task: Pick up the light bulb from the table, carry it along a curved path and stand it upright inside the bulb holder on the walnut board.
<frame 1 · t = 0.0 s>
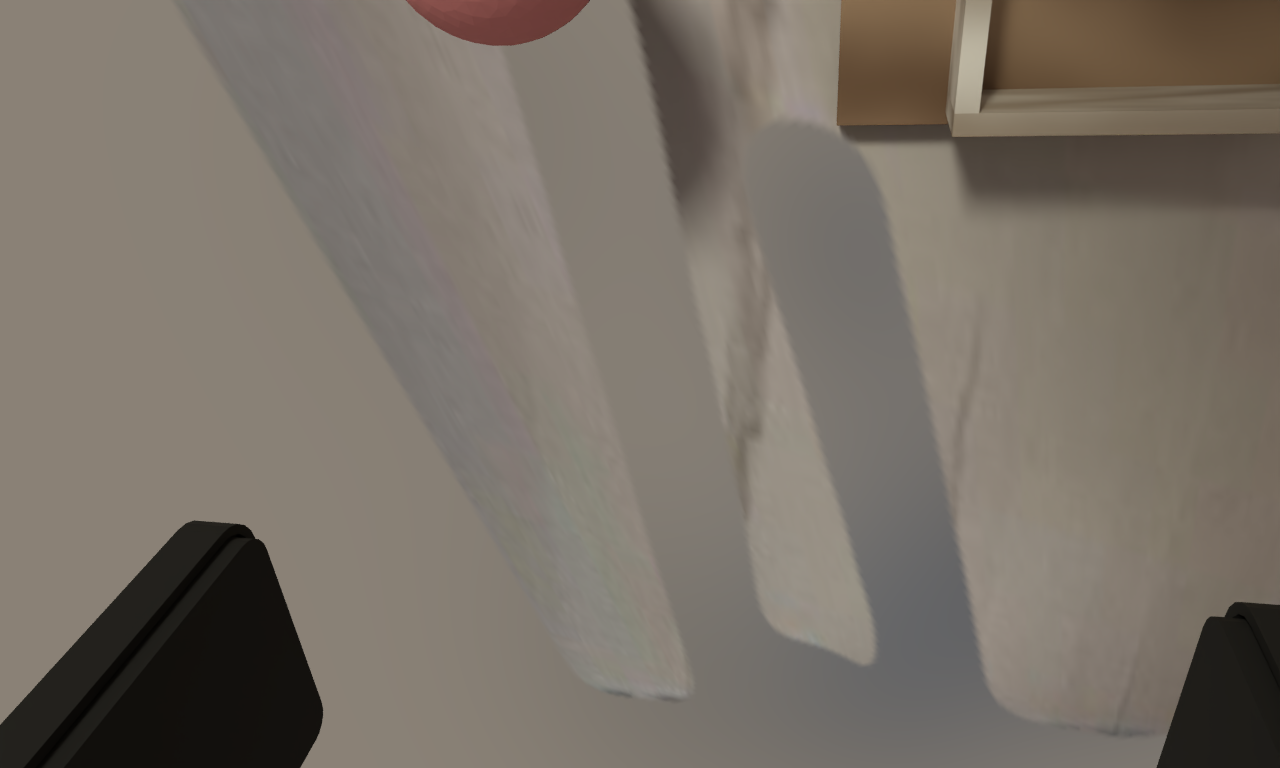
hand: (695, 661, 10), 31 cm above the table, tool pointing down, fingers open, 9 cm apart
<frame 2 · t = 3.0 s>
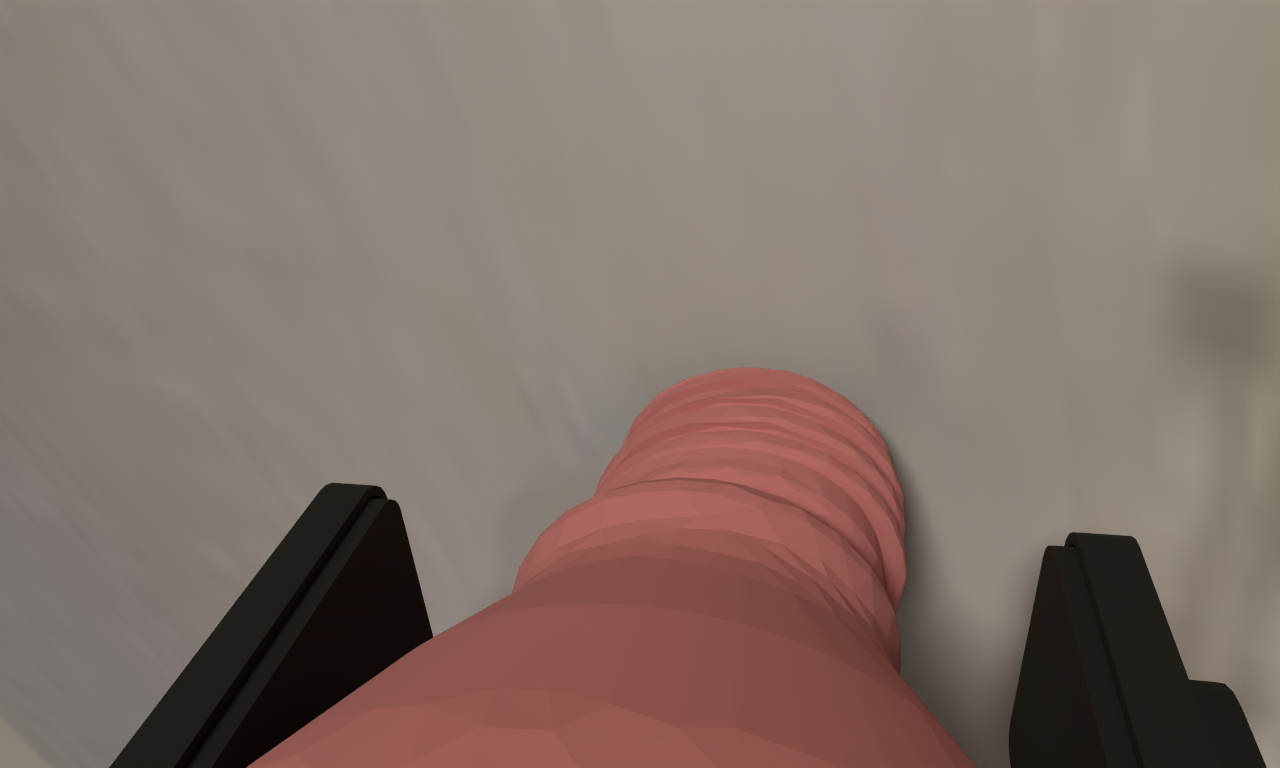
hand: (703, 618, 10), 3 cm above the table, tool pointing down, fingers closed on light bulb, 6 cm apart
light bulb: (737, 436, 13), on the table, touching gripper
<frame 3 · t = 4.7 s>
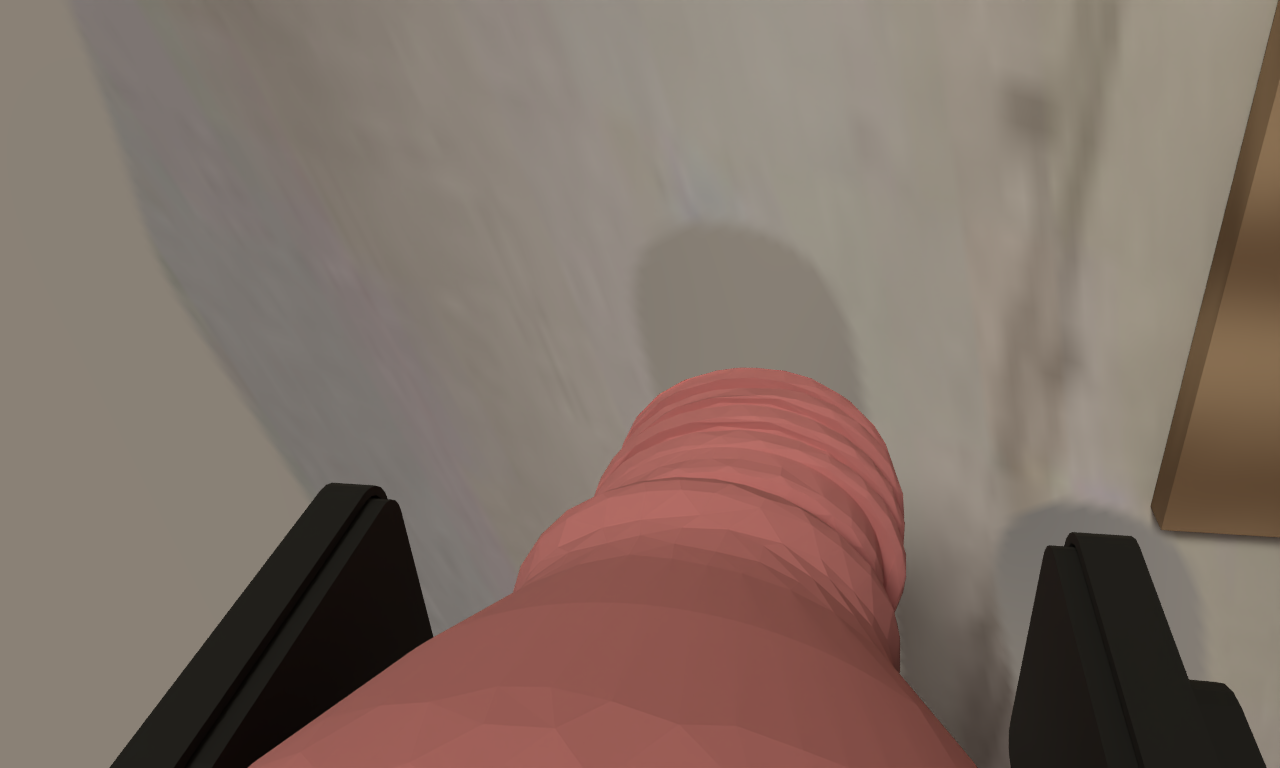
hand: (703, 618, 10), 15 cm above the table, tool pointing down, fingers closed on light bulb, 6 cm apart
light bulb: (737, 436, 13), point 12 cm above the table, touching gripper
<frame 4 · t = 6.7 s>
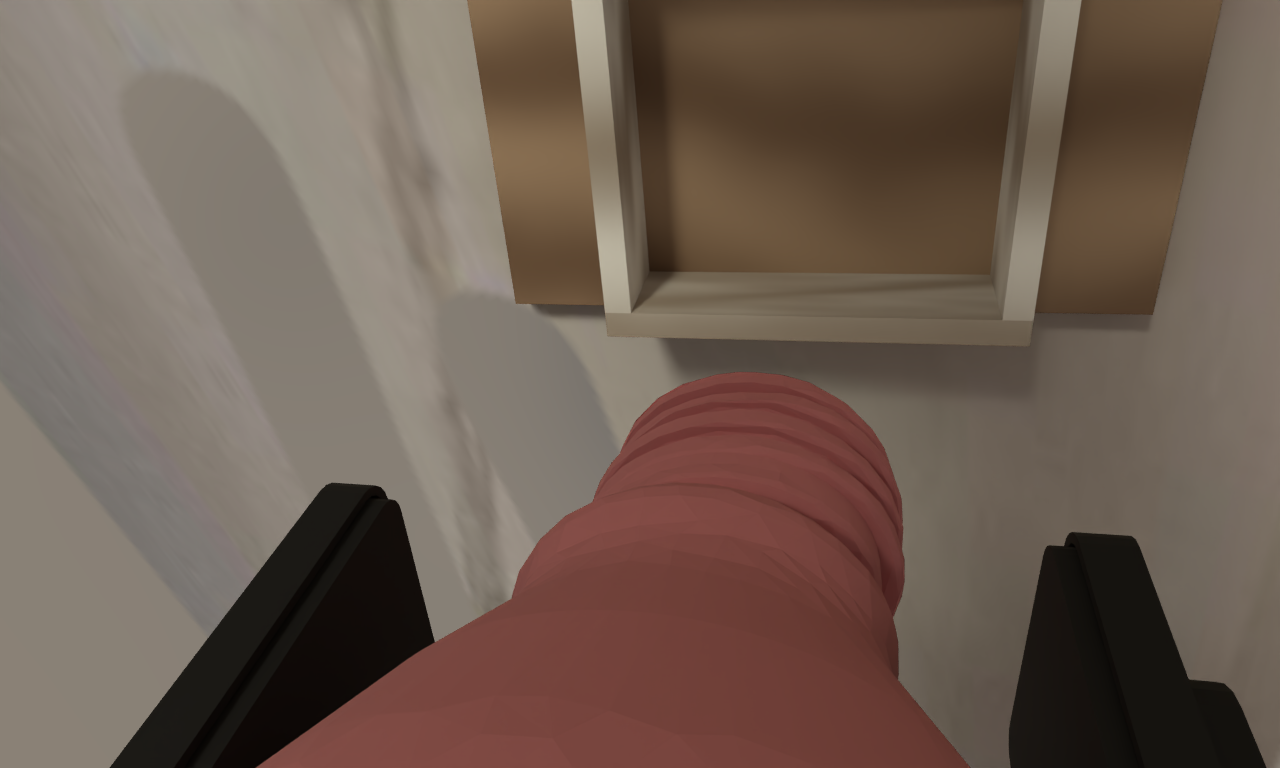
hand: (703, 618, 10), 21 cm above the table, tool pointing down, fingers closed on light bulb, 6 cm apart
light bulb: (735, 439, 13), point 18 cm above the table, touching gripper
bulb holder: (817, 95, 28), on the table
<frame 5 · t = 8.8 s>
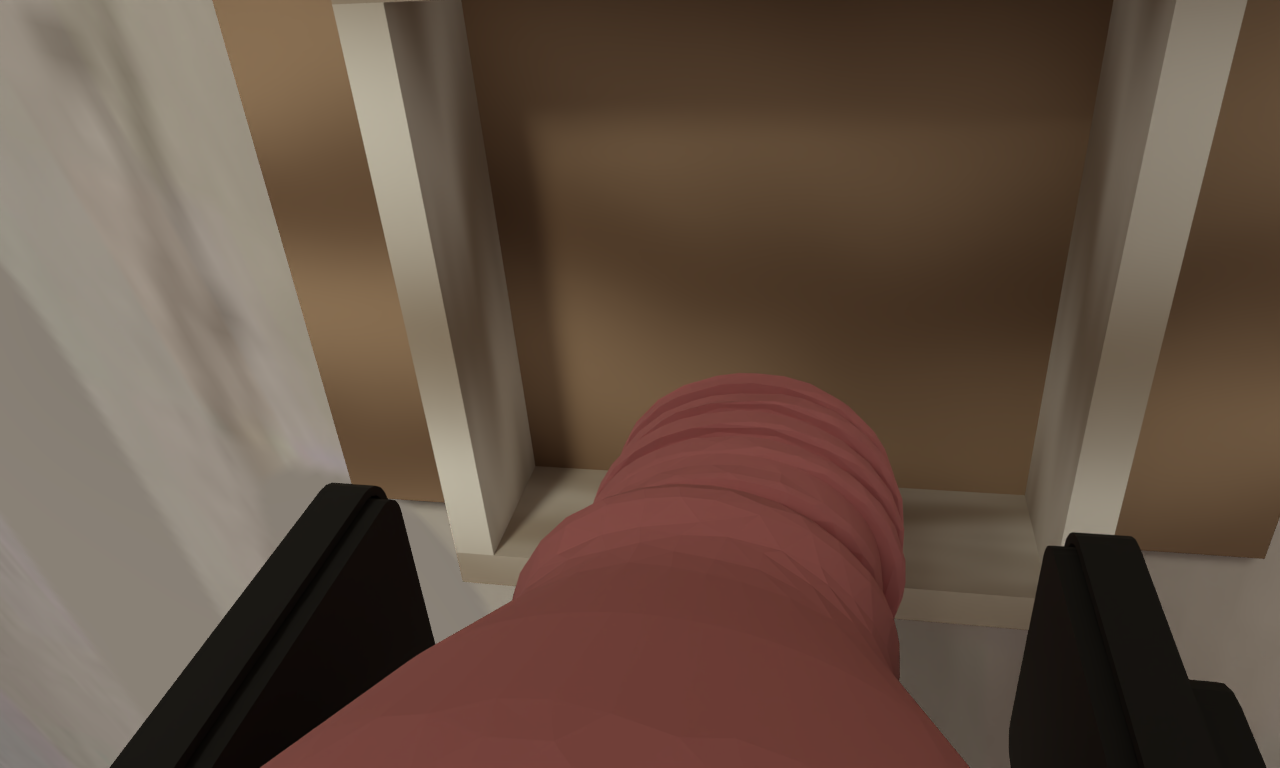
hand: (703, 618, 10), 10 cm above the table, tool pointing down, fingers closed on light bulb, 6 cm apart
light bulb: (736, 440, 13), point 7 cm above the table, touching gripper
bulb holder: (771, 235, 19), on the table
when the fingers open (6 cm above the table, at t = 10.3 s): light bulb drops 1 cm, resting on bulb holder.
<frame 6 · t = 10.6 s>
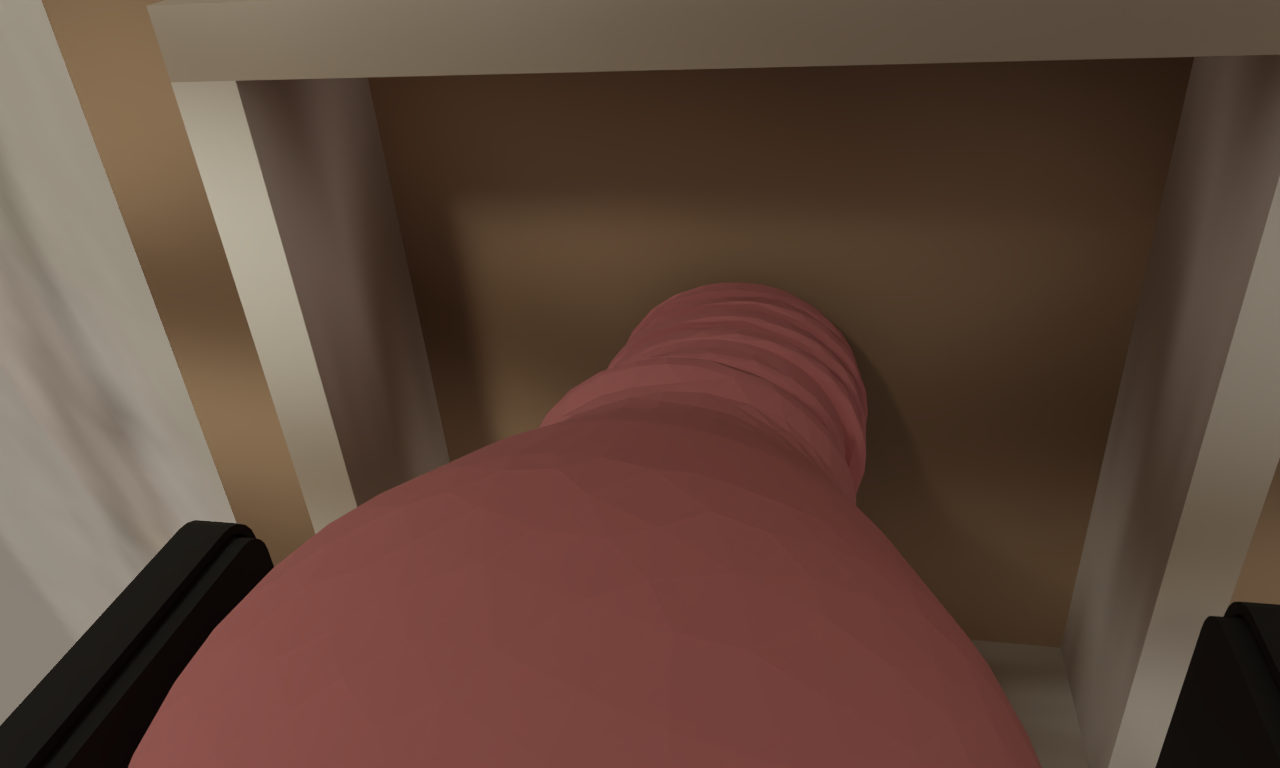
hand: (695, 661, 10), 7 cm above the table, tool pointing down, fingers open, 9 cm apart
light bulb: (723, 352, 15), point 1 cm above the table, touching bulb holder
bulb holder: (755, 340, 15), on the table
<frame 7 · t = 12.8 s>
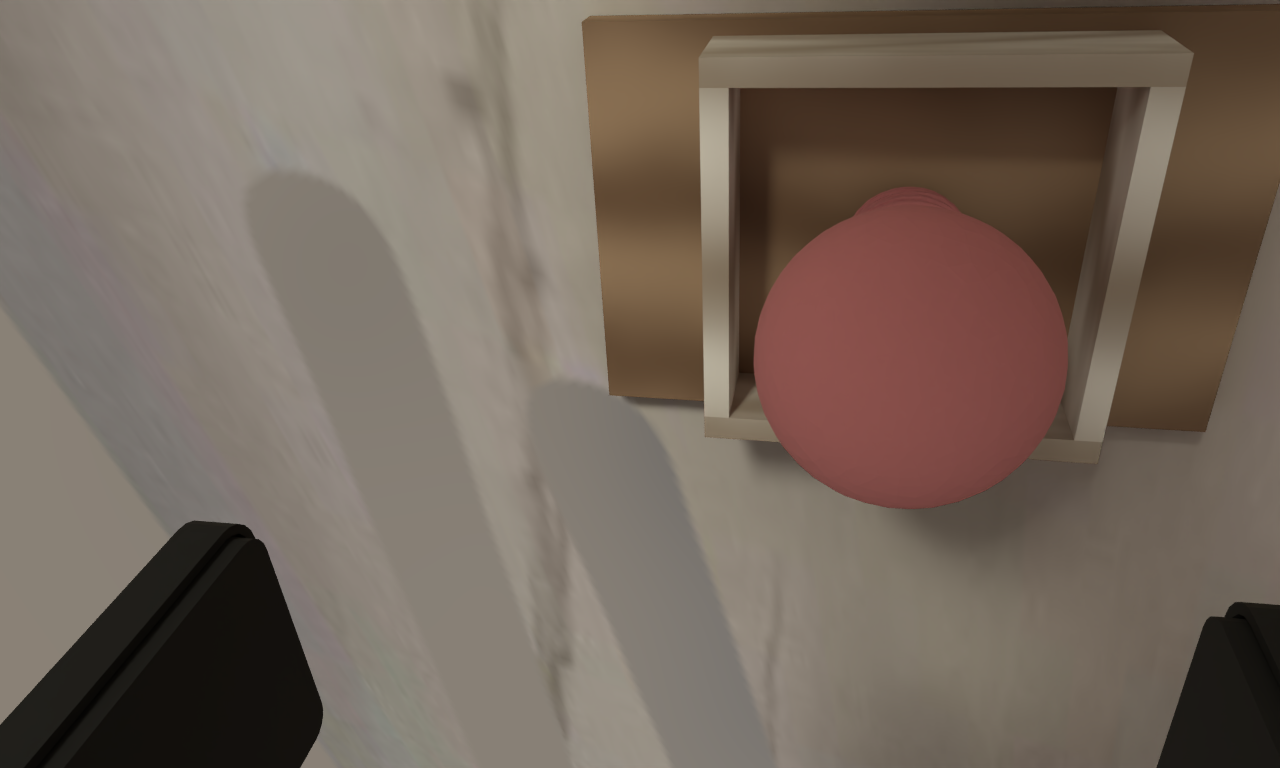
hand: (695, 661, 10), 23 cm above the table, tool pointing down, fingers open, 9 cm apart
light bulb: (894, 227, 30), point 1 cm above the table, touching bulb holder
bulb holder: (906, 224, 31), on the table
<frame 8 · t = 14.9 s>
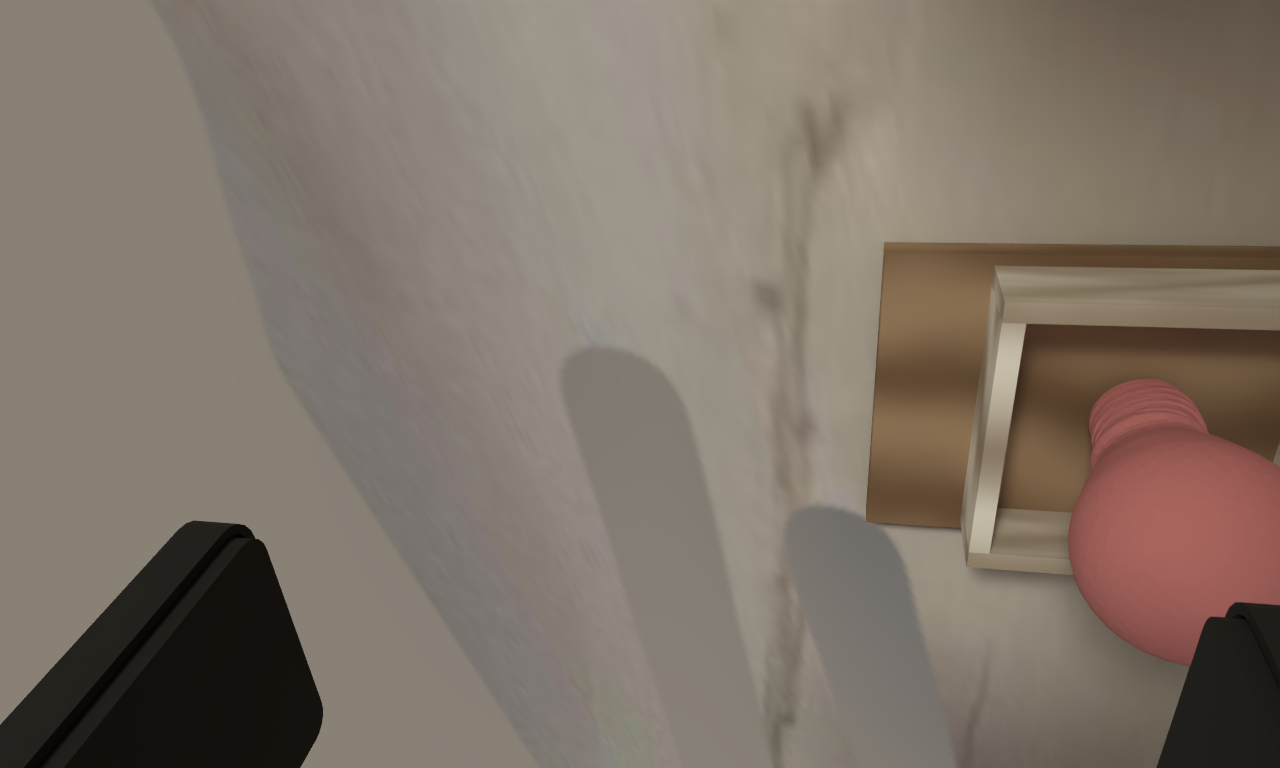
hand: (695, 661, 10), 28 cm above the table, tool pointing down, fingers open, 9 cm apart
light bulb: (1126, 402, 37), point 1 cm above the table, touching bulb holder
bulb holder: (1132, 396, 38), on the table
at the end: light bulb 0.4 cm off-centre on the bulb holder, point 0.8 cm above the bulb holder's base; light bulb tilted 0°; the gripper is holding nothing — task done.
